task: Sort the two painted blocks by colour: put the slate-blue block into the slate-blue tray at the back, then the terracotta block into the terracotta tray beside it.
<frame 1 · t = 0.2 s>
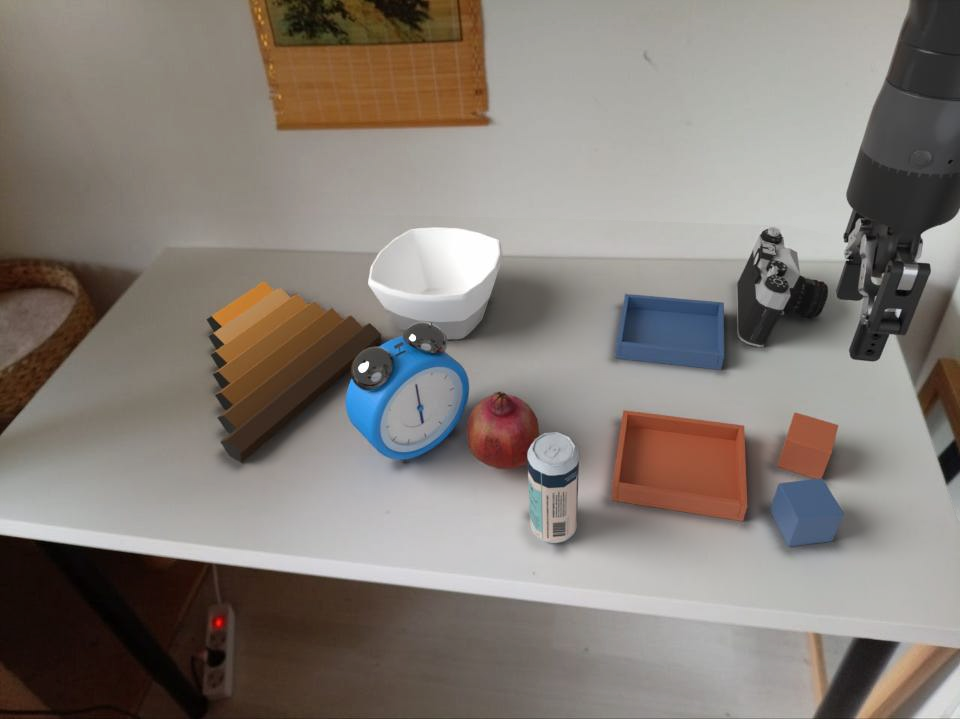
hand: (855, 326, 59), 21 cm above the table, tool pointing down, fingers open, 8 cm apart
terracotta block: (802, 459, 74), on the table
bowl: (443, 315, 99), on the table
alarm clock: (416, 439, 81), on the table
pan flute: (255, 369, 93), on the table
blue tray: (669, 337, 92), on the table
terracotta tray: (677, 469, 74), on the table
camera: (777, 317, 93), on the table
beer can: (553, 527, 70), on the table
fruit: (504, 458, 78), on the table
blue block: (800, 525, 68), on the table
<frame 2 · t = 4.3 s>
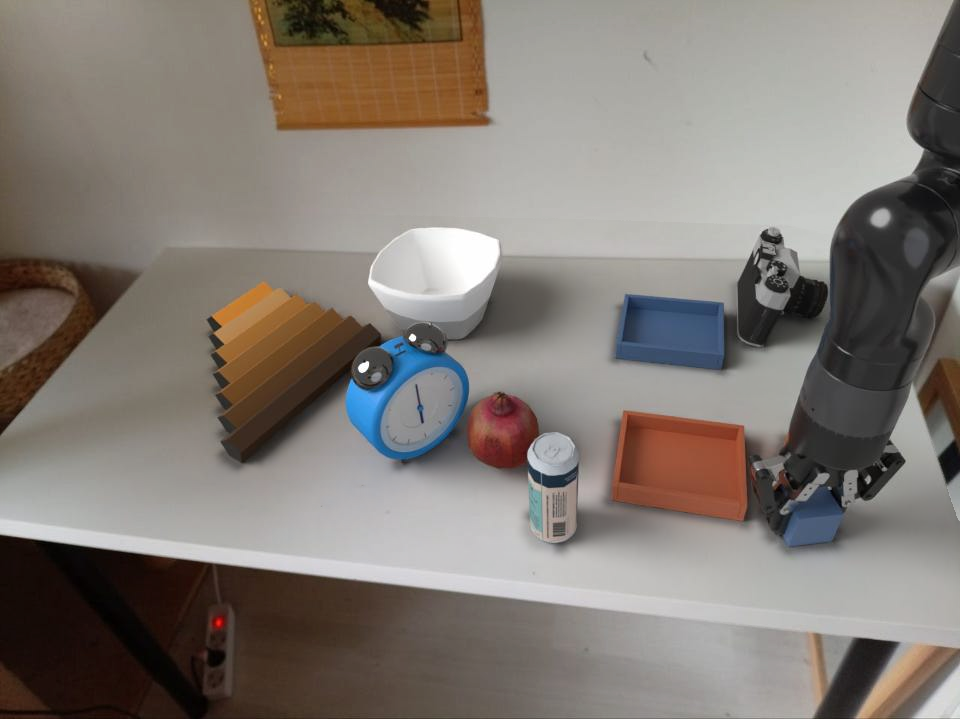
hand: (800, 523, 68), 0 cm above the table, tool pointing down, fingers closed on blue block, 4 cm apart
blue block: (799, 525, 68), on the table, touching gripper
everything else where it was.
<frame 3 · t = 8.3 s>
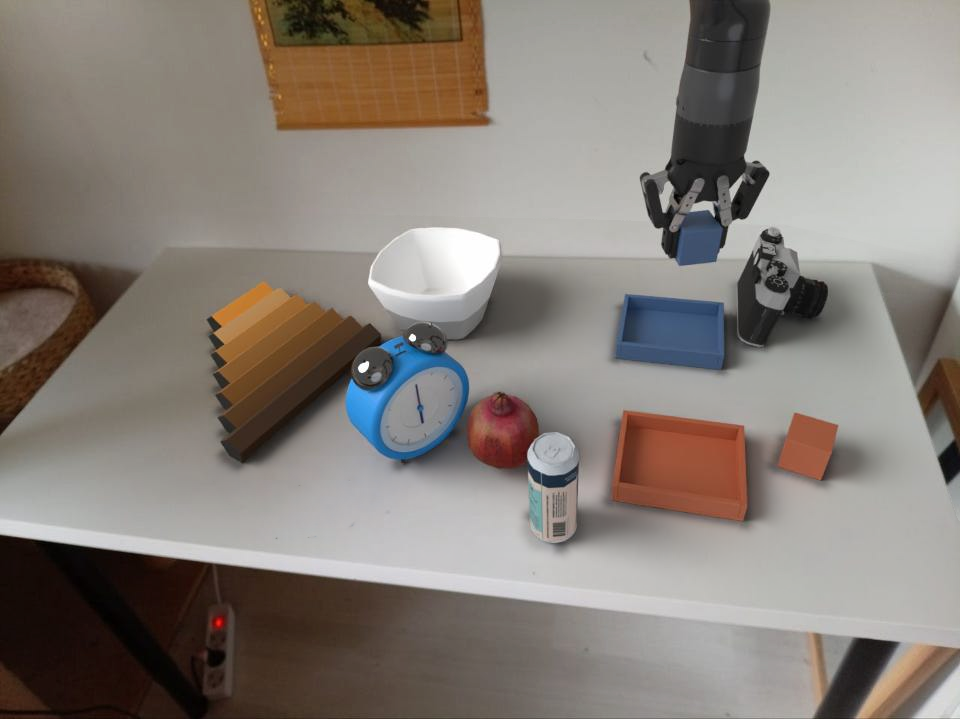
hand: (691, 251, 80), 15 cm above the table, tool pointing down, fingers closed on blue block, 4 cm apart
blue block: (691, 254, 80), point 15 cm above the table, touching gripper
everything else where it was.
when the fingers open (1 cm above the table, at t = 12.1 s): blue block stays where it is, resting on blue tray.
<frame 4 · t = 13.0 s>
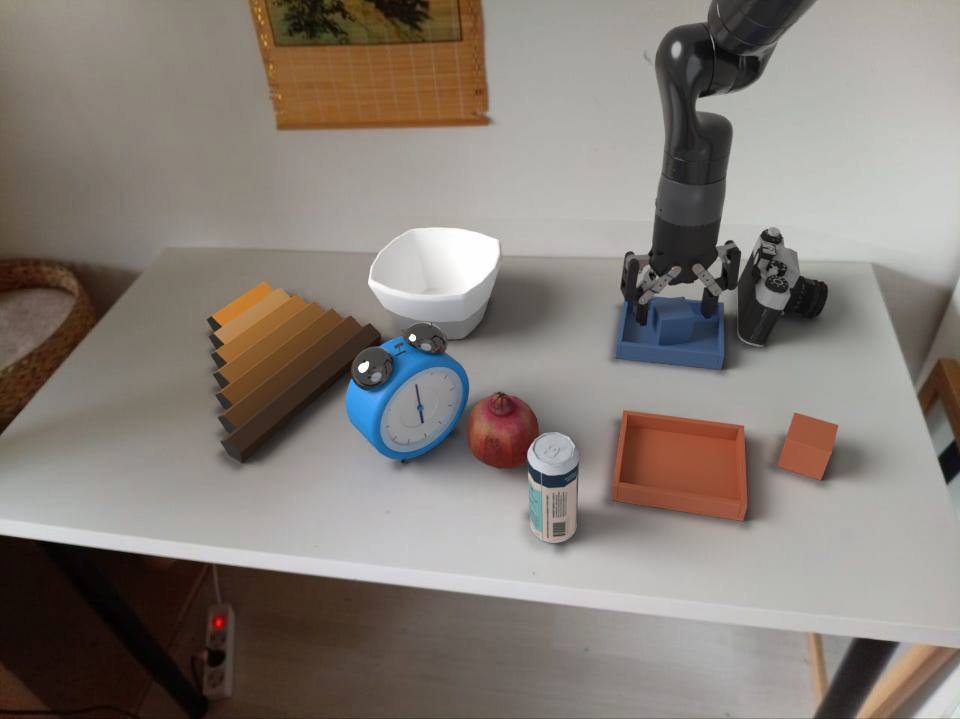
hand: (673, 318, 89), 3 cm above the table, tool pointing down, fingers open, 8 cm apart
blue block: (669, 334, 91), resting on blue tray
everything else where it was.
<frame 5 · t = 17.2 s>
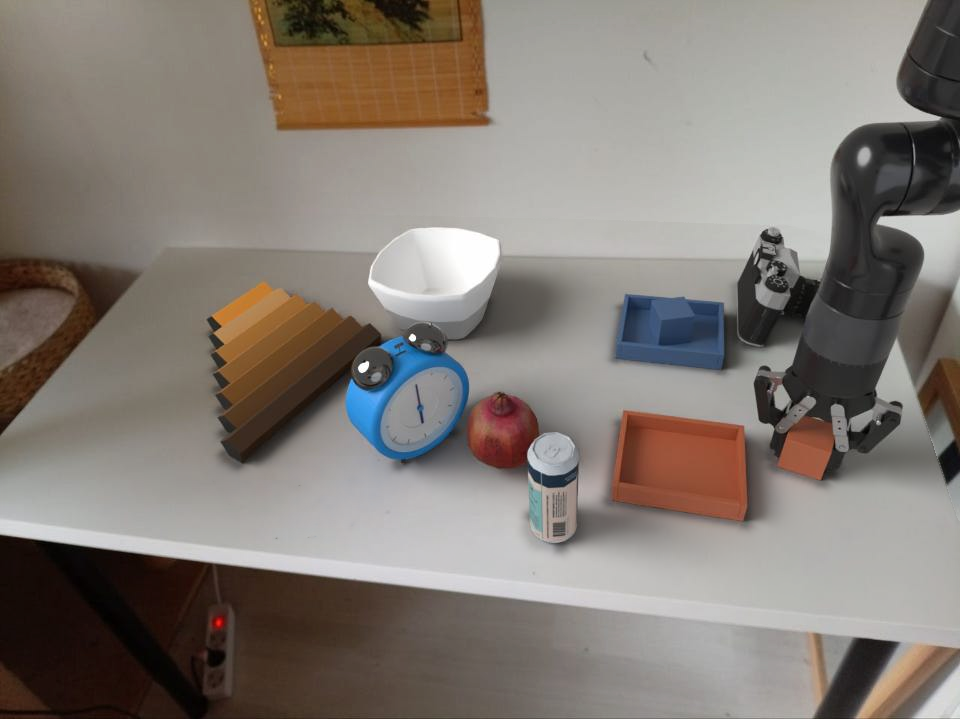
hand: (803, 457, 74), 0 cm above the table, tool pointing down, fingers closed on terracotta block, 4 cm apart
terracotta block: (802, 459, 74), on the table, touching gripper
everything else where it was.
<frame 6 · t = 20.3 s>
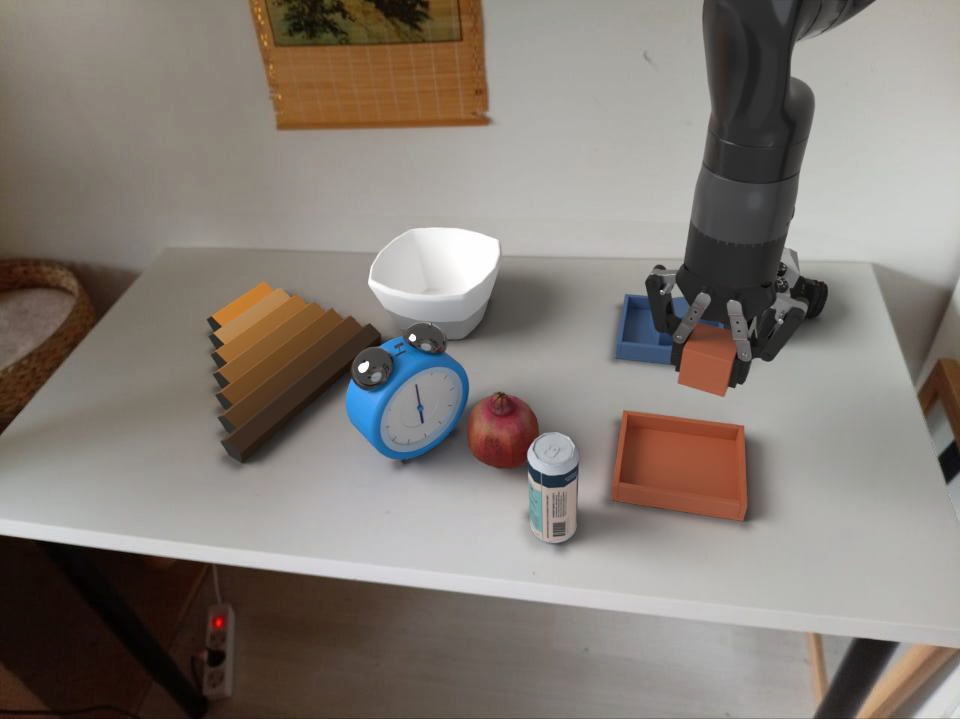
hand: (707, 374, 65), 14 cm above the table, tool pointing down, fingers closed on terracotta block, 4 cm apart
terracotta block: (706, 376, 66), point 14 cm above the table, touching gripper
everything else where it was.
when the fingers open (1 cm above the table, at t = 23.7 s): terracotta block stays where it is, resting on terracotta tray.
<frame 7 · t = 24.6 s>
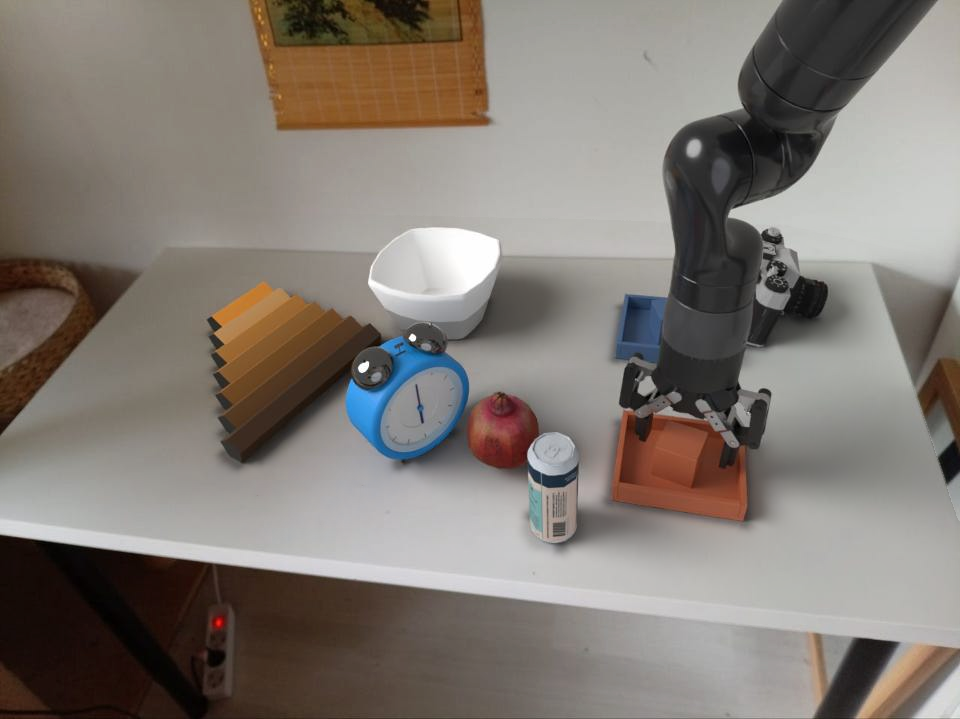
hand: (683, 449, 73), 3 cm above the table, tool pointing down, fingers open, 8 cm apart
terracotta block: (677, 467, 74), resting on terracotta tray
everything else where it was.
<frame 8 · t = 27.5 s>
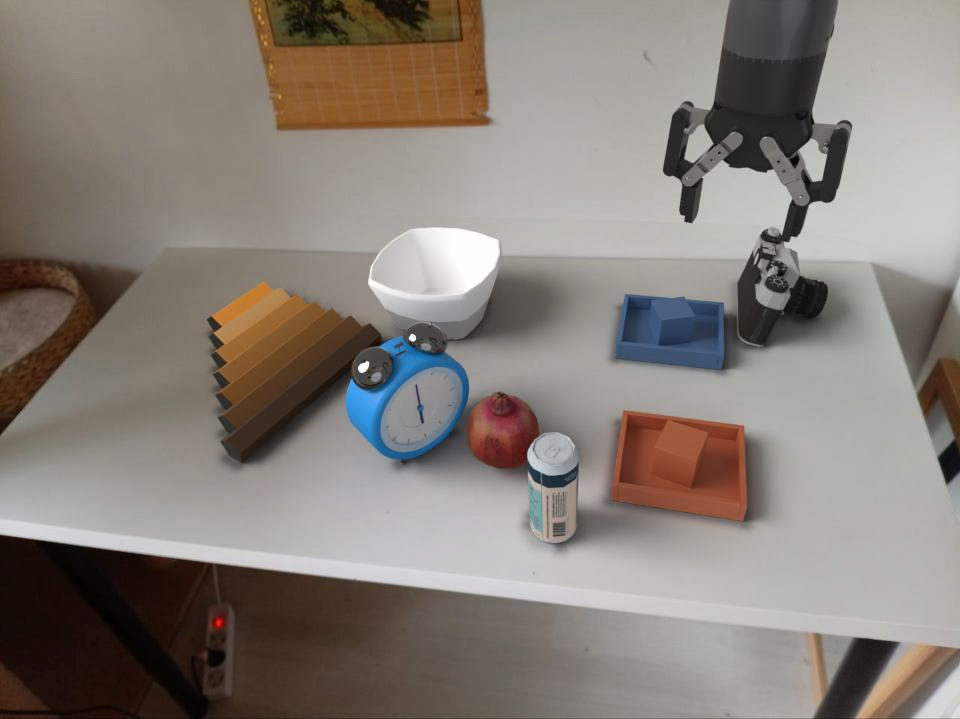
hand: (737, 228, 62), 26 cm above the table, tool pointing down, fingers open, 8 cm apart
nothing on the table moved.
at the end: blue block inside the target area in the blue tray (0.1 cm from its centre), point 0.5 cm above the blue tray's base; terracotta block inside the target area in the terracotta tray (0.1 cm from its centre), point 0.5 cm above the terracotta tray's base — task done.
